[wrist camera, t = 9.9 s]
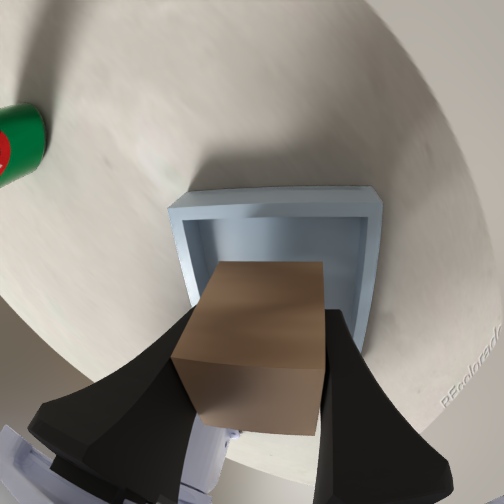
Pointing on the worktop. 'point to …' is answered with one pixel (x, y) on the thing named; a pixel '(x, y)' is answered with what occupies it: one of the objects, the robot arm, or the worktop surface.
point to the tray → (286, 238)
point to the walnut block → (257, 347)
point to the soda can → (20, 141)
